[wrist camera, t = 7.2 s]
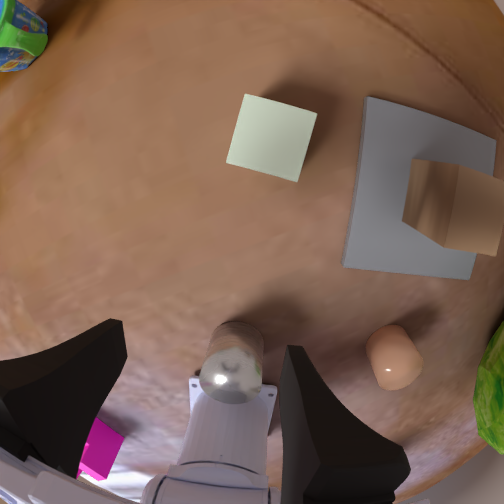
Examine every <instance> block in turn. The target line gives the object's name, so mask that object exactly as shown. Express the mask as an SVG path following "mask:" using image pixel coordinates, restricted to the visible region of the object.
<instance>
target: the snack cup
mask: <svg viewBox="0 0 504 504" xmlns="http://www.w3.org/2000/svg"><path fill="white" fill-rule="evenodd" d="M47 41H48V36H47V23H46V22H45V21H44V20H43V19H42V18H41V17H40V16H38V15H37V14H36V13H34V12H33V11H31V10H30V9H29V8H27V7H26V6H25V5H23V4H22V3H20V2H19V1H17V0H0V72H1V71H2V72H7V71H18V70H22V69H25V68H27V67H28V66H29V64H31V63H32V62H33V61H34V59H35V58H36V57H37V56H39V55H40V54H41V53H42V52H43V51H44V48H45V46H46V44H47Z"/></svg>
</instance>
